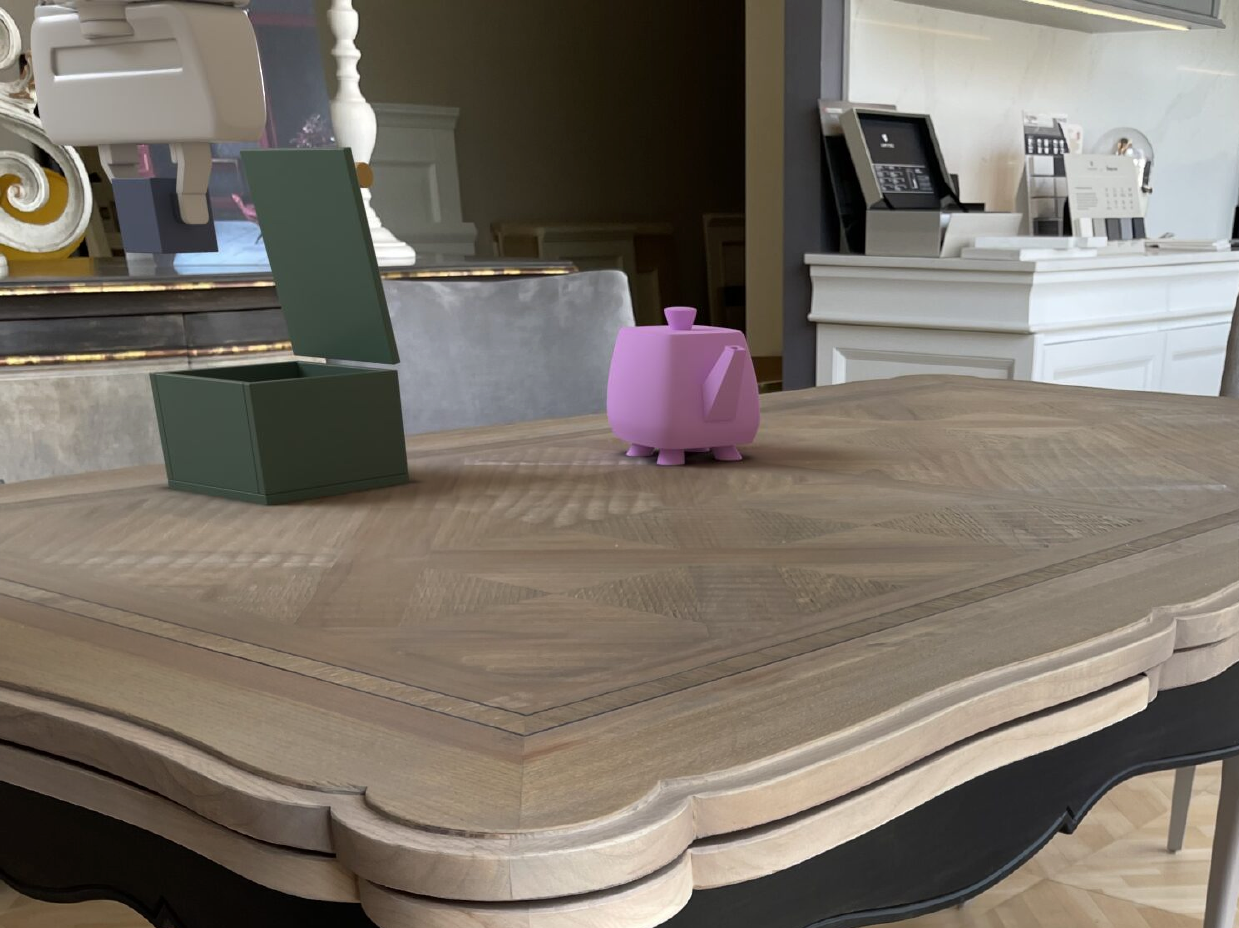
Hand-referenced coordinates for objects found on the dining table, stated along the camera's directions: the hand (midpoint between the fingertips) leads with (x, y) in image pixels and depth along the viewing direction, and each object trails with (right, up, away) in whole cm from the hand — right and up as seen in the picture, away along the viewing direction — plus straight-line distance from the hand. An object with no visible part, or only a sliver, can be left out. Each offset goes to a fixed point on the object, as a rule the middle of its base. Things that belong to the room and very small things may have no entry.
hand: (166, 223), depth 106 cm
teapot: (+32, 0, +41) cm, 52 cm away
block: (0, -2, +1) cm, 2 cm away
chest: (+1, -9, +24) cm, 26 cm away
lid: (+4, +8, +20) cm, 22 cm away
